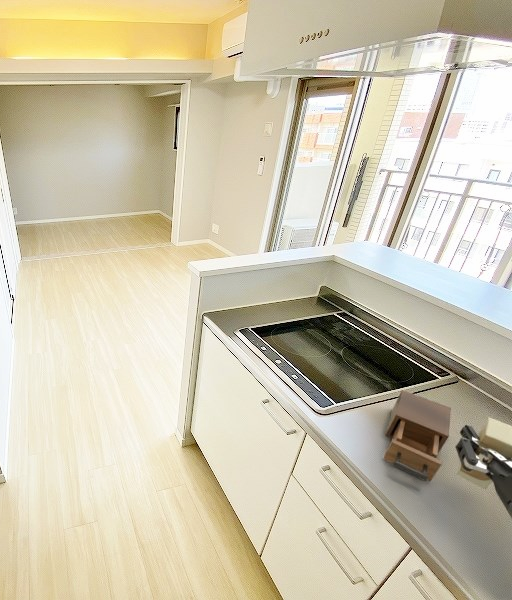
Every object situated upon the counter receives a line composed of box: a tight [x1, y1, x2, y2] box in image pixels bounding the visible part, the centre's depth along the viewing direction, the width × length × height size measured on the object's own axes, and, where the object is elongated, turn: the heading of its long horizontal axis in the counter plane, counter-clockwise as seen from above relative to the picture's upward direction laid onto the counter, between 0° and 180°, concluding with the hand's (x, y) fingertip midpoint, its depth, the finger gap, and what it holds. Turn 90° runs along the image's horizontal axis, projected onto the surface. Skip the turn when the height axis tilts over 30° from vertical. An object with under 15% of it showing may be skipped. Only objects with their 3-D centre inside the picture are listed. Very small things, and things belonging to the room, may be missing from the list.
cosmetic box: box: [456, 416, 512, 490], centre depth 63 cm, size 6×4×12 cm
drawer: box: [382, 420, 443, 482], centre depth 75 cm, size 15×8×6 cm, turn 136°
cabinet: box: [385, 389, 452, 454], centre depth 83 cm, size 12×10×8 cm
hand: (488, 433), depth 64 cm, fingers closed on cosmetic box, 6 cm apart
